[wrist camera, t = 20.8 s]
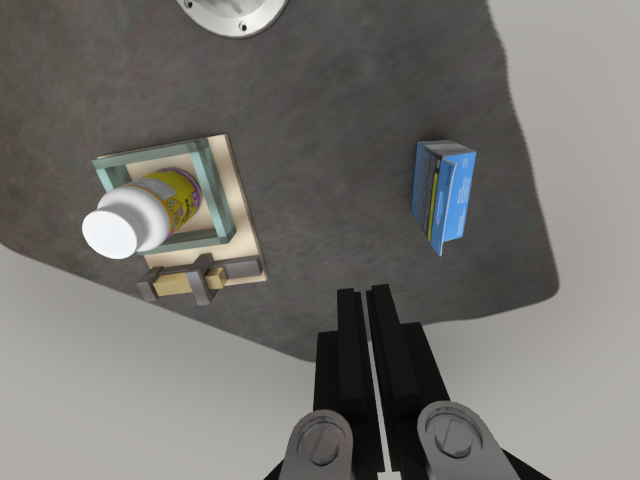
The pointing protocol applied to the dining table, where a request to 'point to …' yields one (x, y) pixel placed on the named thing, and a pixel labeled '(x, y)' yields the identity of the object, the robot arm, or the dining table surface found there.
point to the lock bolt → (180, 283)
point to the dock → (196, 215)
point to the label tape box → (442, 189)
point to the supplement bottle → (142, 213)
